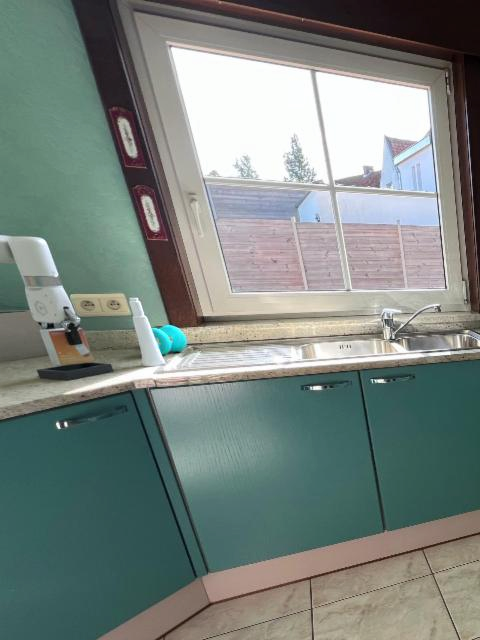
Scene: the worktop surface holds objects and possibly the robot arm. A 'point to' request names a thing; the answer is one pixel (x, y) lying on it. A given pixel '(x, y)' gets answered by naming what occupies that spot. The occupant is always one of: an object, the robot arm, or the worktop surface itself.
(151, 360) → the cosmetic bottle
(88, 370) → the black tray
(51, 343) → the small box
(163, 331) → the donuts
